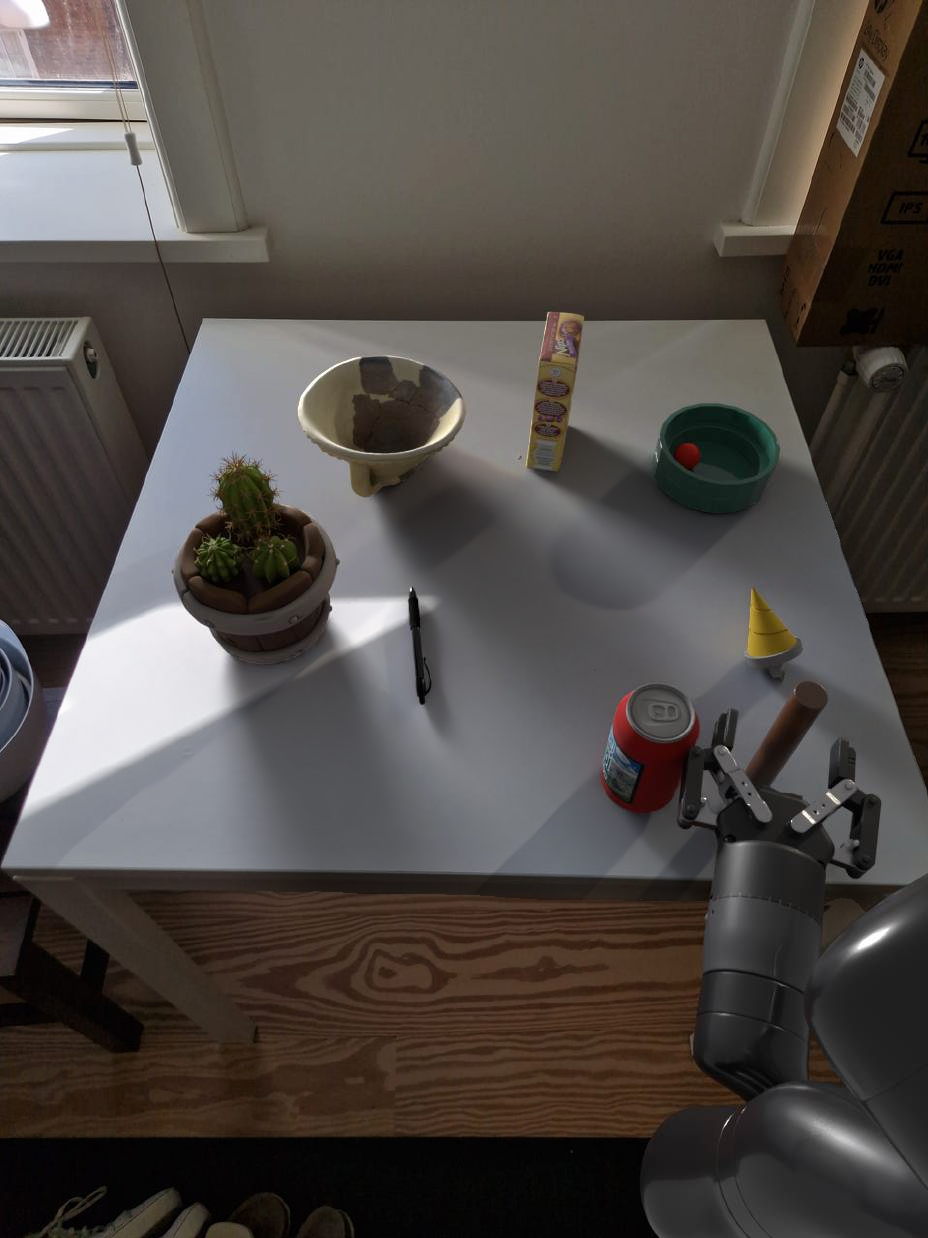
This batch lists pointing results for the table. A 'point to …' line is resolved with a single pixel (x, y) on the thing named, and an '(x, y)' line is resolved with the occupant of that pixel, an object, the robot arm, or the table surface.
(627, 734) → the beverage can
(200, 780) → the table surface
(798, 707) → the stirring stick
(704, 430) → the mixing bowl
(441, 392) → the bowl
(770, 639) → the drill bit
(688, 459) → the red ball
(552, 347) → the candy box
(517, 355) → the table surface
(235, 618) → the flowerpot
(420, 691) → the pen
